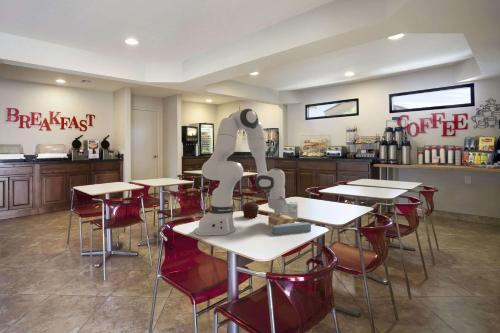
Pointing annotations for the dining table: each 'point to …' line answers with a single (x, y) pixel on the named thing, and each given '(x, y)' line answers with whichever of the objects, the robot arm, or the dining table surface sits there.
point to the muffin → (250, 210)
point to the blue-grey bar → (291, 228)
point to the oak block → (280, 220)
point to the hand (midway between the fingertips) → (277, 217)
